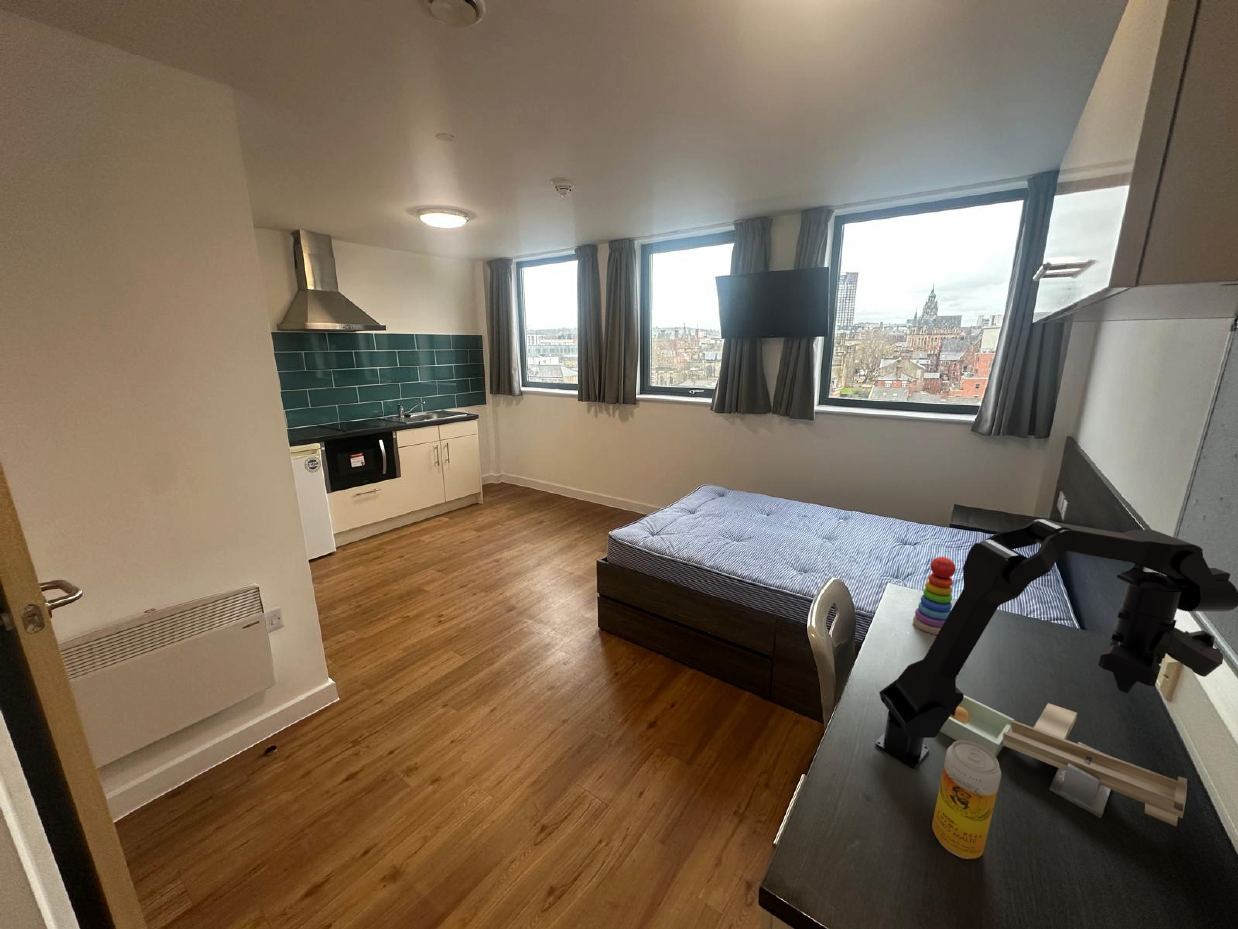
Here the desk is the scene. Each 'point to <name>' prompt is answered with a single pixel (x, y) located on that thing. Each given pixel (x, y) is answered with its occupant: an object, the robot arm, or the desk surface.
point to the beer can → (966, 799)
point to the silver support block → (1081, 788)
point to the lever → (1097, 763)
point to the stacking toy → (936, 597)
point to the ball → (961, 715)
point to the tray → (979, 726)
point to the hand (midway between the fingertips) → (1123, 691)
